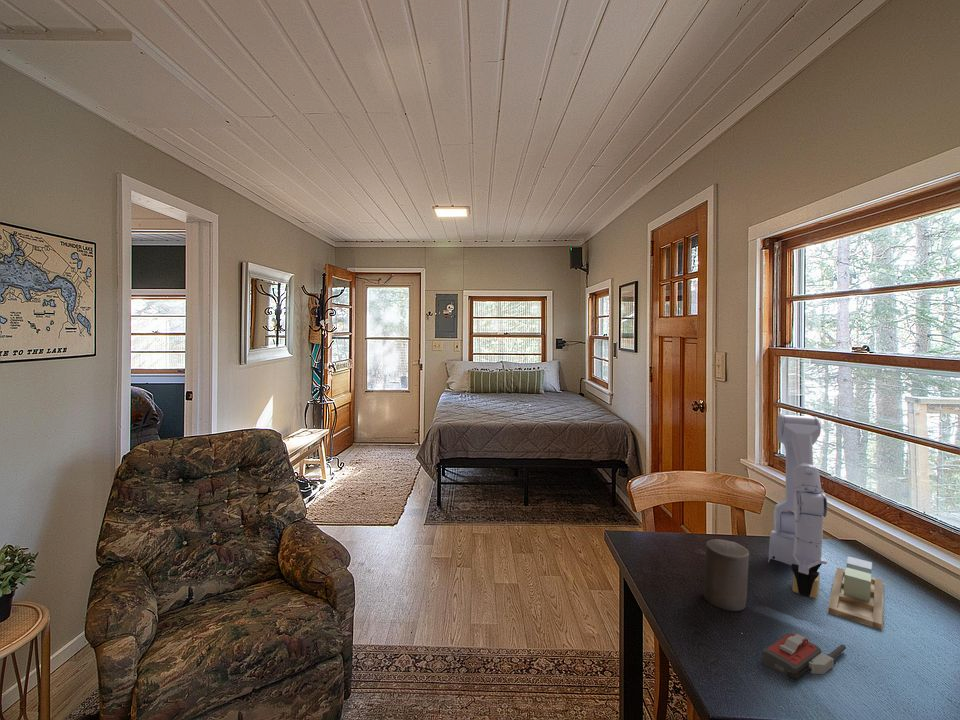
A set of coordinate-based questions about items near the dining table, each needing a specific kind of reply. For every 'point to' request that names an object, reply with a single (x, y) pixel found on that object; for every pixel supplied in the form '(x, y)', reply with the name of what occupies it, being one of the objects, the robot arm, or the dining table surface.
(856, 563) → the blue-grey block
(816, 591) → the ochre block
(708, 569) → the pillar candle
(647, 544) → the dining table surface
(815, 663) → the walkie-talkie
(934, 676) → the dining table surface
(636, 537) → the dining table surface
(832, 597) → the slot board
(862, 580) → the sage block
